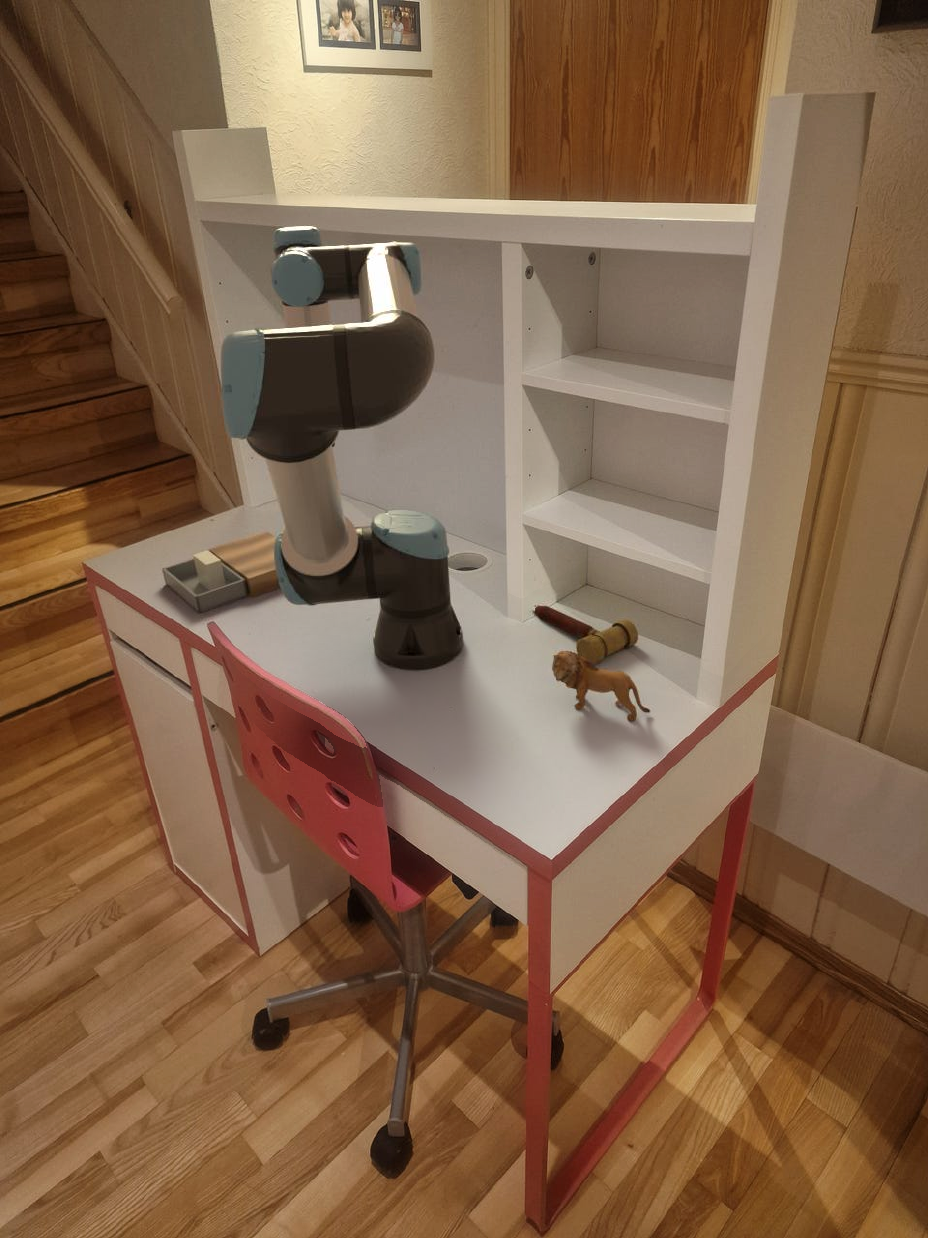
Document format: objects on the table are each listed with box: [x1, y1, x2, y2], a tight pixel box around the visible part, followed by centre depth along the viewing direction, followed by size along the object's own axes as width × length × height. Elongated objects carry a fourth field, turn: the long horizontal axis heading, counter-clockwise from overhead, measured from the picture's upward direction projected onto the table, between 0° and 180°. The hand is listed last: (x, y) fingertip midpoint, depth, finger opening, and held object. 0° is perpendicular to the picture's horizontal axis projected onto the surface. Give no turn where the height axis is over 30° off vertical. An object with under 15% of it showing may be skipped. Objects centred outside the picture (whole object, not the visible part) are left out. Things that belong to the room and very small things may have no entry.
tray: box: [161, 557, 249, 614], centre depth 164 cm, size 16×10×4 cm, turn 39°
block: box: [192, 549, 226, 591], centre depth 164 cm, size 6×6×3 cm
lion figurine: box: [551, 650, 651, 722], centre depth 124 cm, size 15×5×9 cm, turn 74°
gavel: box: [534, 604, 639, 666], centre depth 145 cm, size 21×5×10 cm
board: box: [208, 530, 281, 598], centre depth 170 cm, size 18×13×4 cm
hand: (326, 465), depth 152 cm, fingers closed
